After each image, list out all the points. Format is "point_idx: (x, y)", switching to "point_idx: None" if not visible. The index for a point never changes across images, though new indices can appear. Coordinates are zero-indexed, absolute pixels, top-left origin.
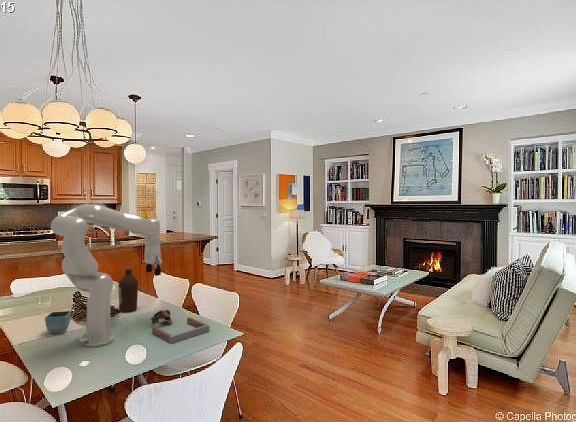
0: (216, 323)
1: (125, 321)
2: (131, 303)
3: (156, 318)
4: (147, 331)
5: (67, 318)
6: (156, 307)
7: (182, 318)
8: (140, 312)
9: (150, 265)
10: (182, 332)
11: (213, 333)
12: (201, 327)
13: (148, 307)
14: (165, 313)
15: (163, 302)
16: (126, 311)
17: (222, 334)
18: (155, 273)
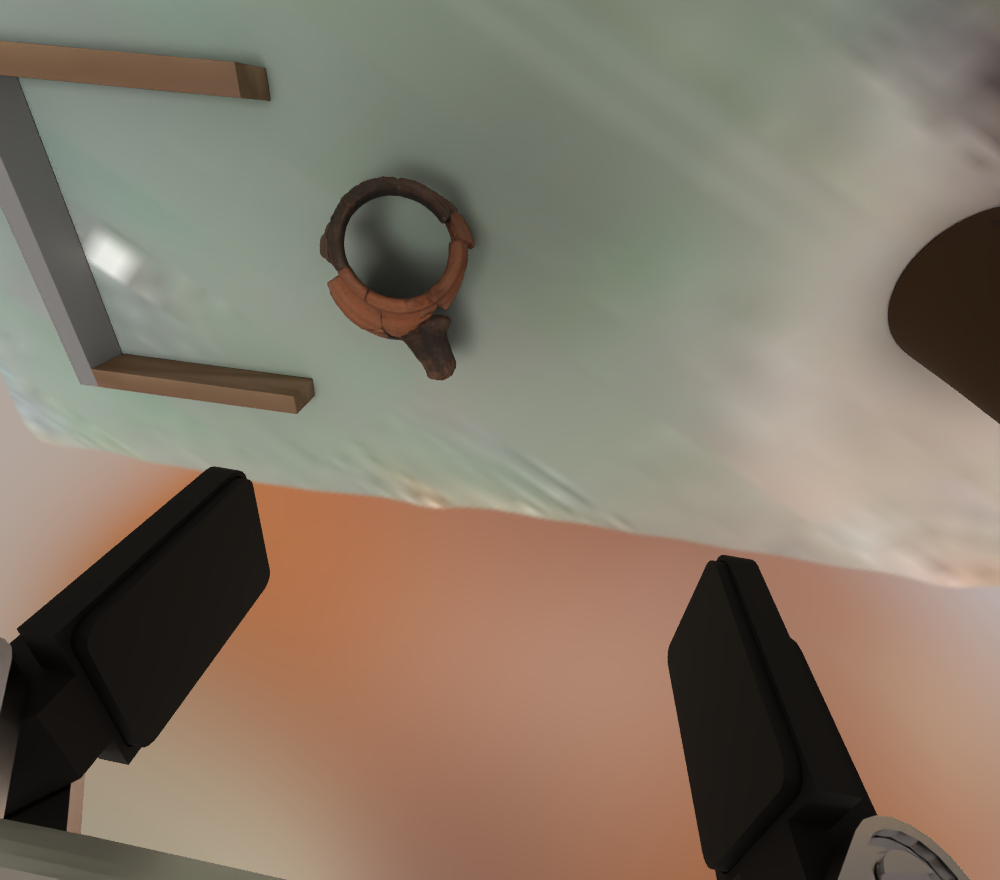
0: None
1: (733, 72)
2: (952, 300)
3: (349, 198)
4: (333, 69)
5: None
6: (774, 465)
7: (418, 421)
8: (804, 323)
9: (725, 835)
10: (6, 177)
11: None
12: (63, 332)
13: (838, 434)
14: (345, 295)
15: (813, 552)
16: (945, 237)
17: (37, 380)
18: (173, 505)
